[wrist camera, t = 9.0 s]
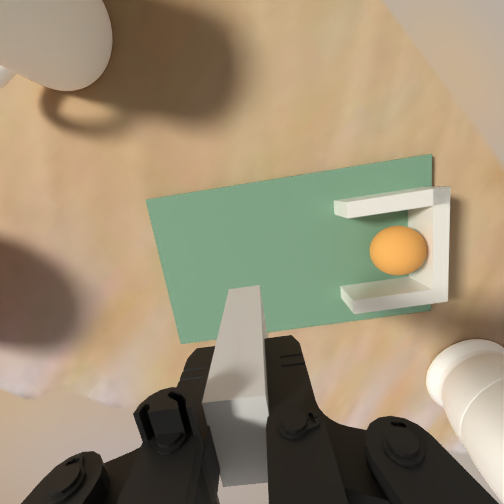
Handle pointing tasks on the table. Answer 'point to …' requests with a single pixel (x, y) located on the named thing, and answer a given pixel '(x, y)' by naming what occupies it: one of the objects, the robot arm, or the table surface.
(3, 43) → the cup
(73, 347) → the table surface
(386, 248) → the ball
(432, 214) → the white c-shaped bracket
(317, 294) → the putting mat
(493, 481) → the jar
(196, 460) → the robot arm
